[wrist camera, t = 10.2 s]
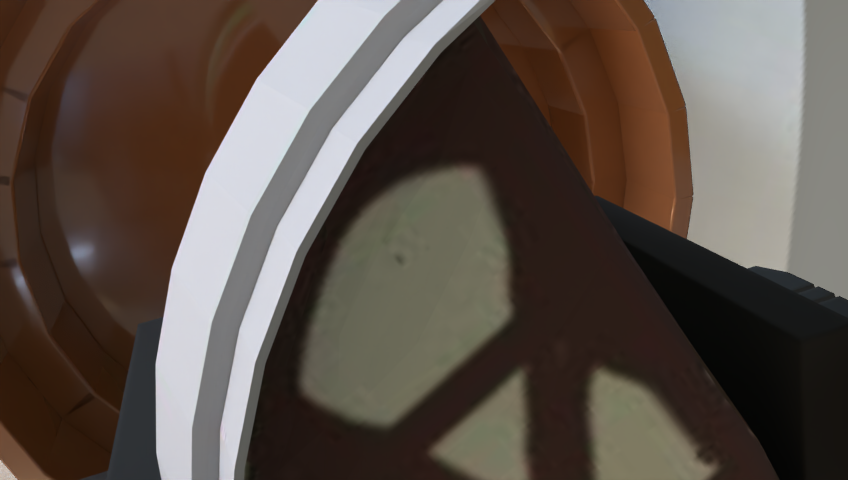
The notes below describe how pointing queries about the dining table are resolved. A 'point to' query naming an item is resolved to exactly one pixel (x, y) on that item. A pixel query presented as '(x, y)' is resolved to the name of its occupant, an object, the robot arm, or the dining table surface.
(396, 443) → the food container
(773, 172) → the dining table surface
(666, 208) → the bowl
